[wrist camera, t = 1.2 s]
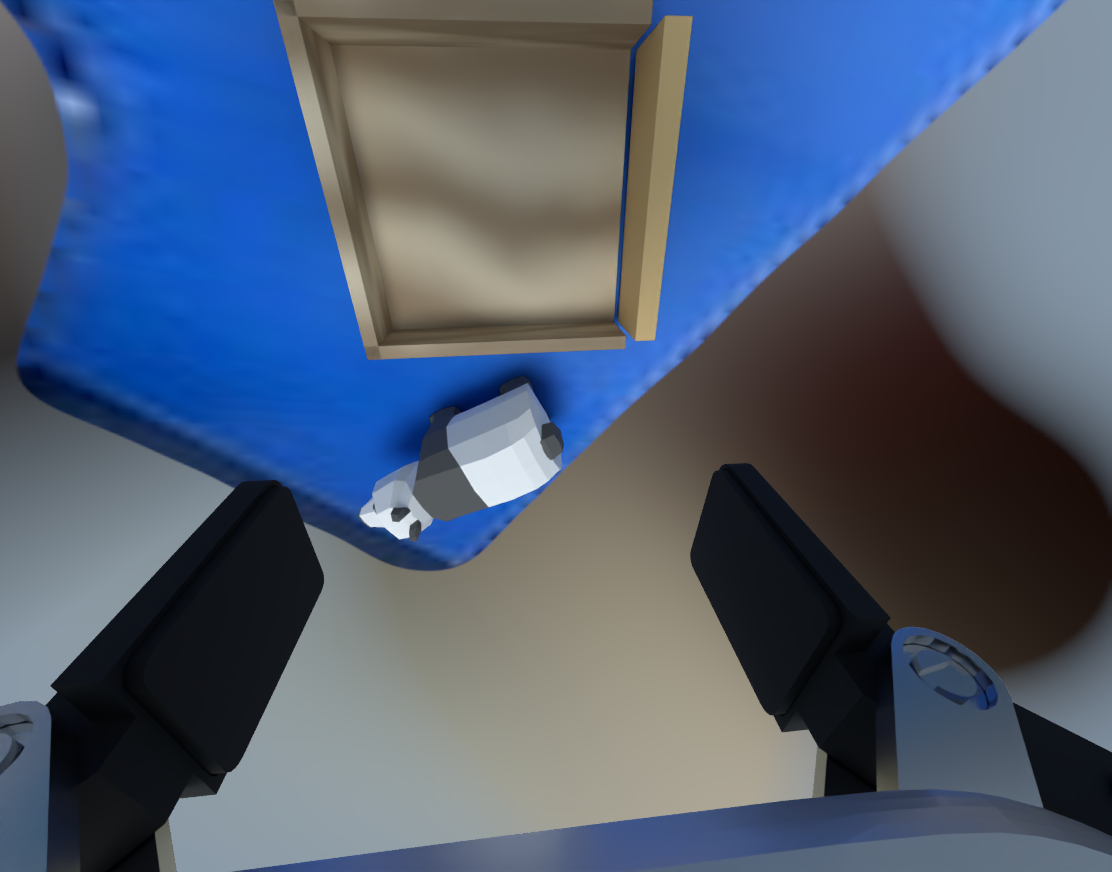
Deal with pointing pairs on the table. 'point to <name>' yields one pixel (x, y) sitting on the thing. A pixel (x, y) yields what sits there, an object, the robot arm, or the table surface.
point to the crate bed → (471, 165)
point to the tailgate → (652, 171)
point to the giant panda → (470, 463)
